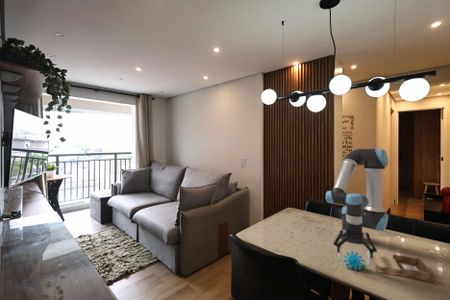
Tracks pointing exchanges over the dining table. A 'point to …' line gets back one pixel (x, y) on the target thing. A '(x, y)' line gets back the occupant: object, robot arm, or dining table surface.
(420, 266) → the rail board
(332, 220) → the dining table surface
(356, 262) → the gear
